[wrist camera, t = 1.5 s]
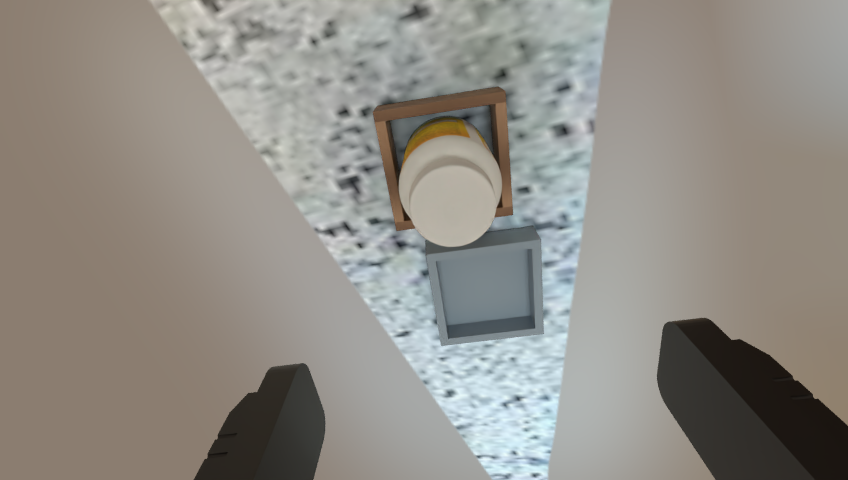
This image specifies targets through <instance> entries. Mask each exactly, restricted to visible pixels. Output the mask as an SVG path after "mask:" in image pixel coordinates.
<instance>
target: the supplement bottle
mask: <svg viewBox="0 0 848 480" xmlns="http://www.w3.org/2000/svg"><path fill="white" fill-rule="evenodd" d="M501 192H502V177H501V172H500V169H499V166H498V164H497V162H496V160H495V158H494V156H493V154H492V153H491V151H490V149H489V148H488V146H487V144H486V142H485V140H484V139H483V137H482V135H481V134H480V132H479V131H478V130H477V129H476V128H475V127H474V126H473V125H472V124H470V123H469V122H467V121H465V120H463V119H460V118H457V117H452V116H444V117H438V118H434V119H431V120H429V121H427V122H425V123H423V124H422V125H421V126H419V127H418V128H417V129H416V130H415V131H414V133H413V134H412V136H411V137H410V139H409V141H408V144H407V146H406V150H405V154H404V159H403V164H402V168H401V173H400V178H399V195H400V200H401V203H402V205H403V208H404V210H405V211H406V213H407V215H408V216H409V217H410V218H411V220H412V223H413V225H414V226H415V228H416V229H417V231H418V232H419V233H420V234H421V235H422V236H423V237H424V238H425V239H427V240H428V241H430V242H432V243H434V244H437V245H440V246H446V247H457V246H463V245H466V244H469V243H471V242H473V241H475V240H477V239H478V238H479V237H481V236H482V235H483V234H484V233H485V232H486V231H487V230H488V228H489V227H490V225H491V224H492V222H493V220H494V217H495V213H496V208H497V205H498V203H499V200H500V197H501Z"/></svg>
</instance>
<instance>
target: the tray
mask: <svg viewBox="0 0 848 480" xmlns="http://www.w3.org/2000/svg"><path fill="white" fill-rule="evenodd" d="M426 259H427V265H428V271H429V277H430V283H431V289H432V295H433V300H434V306H435V312H436V318H437V324H438V330H439V336H440V342H441V346H444V345H453V344H461V343H470V342H478V341H487V340H496V339H504V338H513V337H521V336H530V335H538V334H544V327H543V293H542V260H541V239H540V237H539V235H538V234H537V232H536V230H535V229H534V227H533V226H531V227H523V228H516V229H509V230H501V231H494V232H486V233H484V234H483V235H482V236H481V237H479V238H478V239H477V240H475V241H473V242H471V243H469V244H466V245H463V246H457V247H446V246H440V245H437V244H434V243H432V242H430V241H428V240H427V241H426Z"/></svg>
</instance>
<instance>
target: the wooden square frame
mask: <svg viewBox="0 0 848 480" xmlns="http://www.w3.org/2000/svg"><path fill="white" fill-rule="evenodd" d="M484 105H490V114H491V126H492V139H493V152H494V158H495V160H496V162H497V164H498V166H499V169H500V172H501V177H502V192H501V197H500V200H499V203H498V205H497V208H496V213H495V217H501V216H508V215H513V207H512V191H511V175H510V158H509V142H508V126H507V109H506V93H505V90H503V89H501V88H500V87H493V88H487V89H480V90H474V91H468V92H462V93H455V94H449V95H443V96H436V97H430V98H424V99H418V100H411V101H405V102H399V103H393V104H386V105H380V106H377V107H376V109H375V110H374V111H373V115H374V120H375V125H376V130H377V135H378V140H379V145H380V150H381V155H382V160H383V165H384V170H385V175H386V180H387V185H388V190H389V195H390V200H391V205H392V210H393V215H394V220H395V225H396V230H397V231H399V230H407V229H414V228H415V226H414V225H413V223H412V220H411V218H410V217H409V216H408V215H407V213H406V211H405V210H404V208H403V205H402V203H401V200H400V195H399V178H400V173H399V168H398V162H397V157H396V151H395V146H394V141H393V135H392V130H391V124H390V120H395V119H401V118H408V117H414V116H420V115H427V114H433V113H439V112H446V111H452V110H459V109H465V108H471V107H478V106H484Z"/></svg>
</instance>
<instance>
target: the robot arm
mask: <svg viewBox="0 0 848 480" xmlns="http://www.w3.org/2000/svg"><path fill="white" fill-rule="evenodd" d="M657 381H658V387H659V390H660V393H661V396H662V398H663V401H664V402H665V404H666V406H667V407H668V409H669V410H670V412H671V413H672V415H673V416H674V418H675V419H676V421H677V422H678V424H679V425H680V427H681V428H682V430H683V431H684V433H685V434H686V436H687V437H688V439H689V440H690V442H691V443H692V445H693V446H694V448H695V449H696V451H697V452H698V454H699V455H700V457H701V458H702V460H703V461H704V463H705V464H706V466H707V467H708V469H709V470H710V472H711V473H712V475H713V476H714V478H715V479H716V480H848V426H847V425H846V424H845V423H844V422H843V421H842V420H841V419H840V418H839V417H837V416H836V415H835V414H834V413H833V412H832V411H831V410H830V409H829V408H828V407H826V406H825V405H824V404H823V403H822V402H821V401H820V400H819V399H814V398H813V394H812V393H811V392H810V391H808V389H806V388H805V387H804V386H803V385H802V384H801V383H800V382H799V381H795V380H794V379H793V376H792V375H791V374H790V373H789V372H788V371H787V370H785V369H784V368H783V367H782V366H781V365H780V364H779V363H778V362H777V361H775V360H774V359H773V358H772V357H771V356H770V355H768V354H766V353H764V352H763V351H761V350H759V349H757V348H755V347H753V346H752V345H750V344H748V343H746V342H744V341H742V340H740V339H738V340H731V339H730V338H729V337H728V336H727V335H726V334H725V333H724V332H723V331H722V330H721V329H719V327H718V326H716V325H715V324H714V323H713V322H712V321H711V320H709V319H707V318H698V319H690V320H681V321H672V322H667V323H666V324H665V325H664V327H663V332H662V340H661V348H660V357H659V364H658V372H657ZM324 434H325V414H324V410H323V407H322V404H321V401H320V398H319V396H318V393H317V390H316V387H315V385H314V382H313V379H312V376H311V374H310V371H309V368H308V367H307V365H306V364H304V363H301V364H293V365H284V366H276V367H271V368H270V369H269V370H268V371H267V373H266V375H265V378H264V379H263V381H262V383H261V385H260V387H259V389H258V392H254V393H248V394H247V395H246V396H245V397H244V398H243V399H242V400H241V402H239V404H238V405H237V406H236V407H235V408H234V409H233V410H232V411H231V412H230V413H229V415H228V417H227V419H226V421H225V423H224V424H223V426H222V428H221V430H220V432H219V434H218V439H217V440H215V441H214V443H213V445H212V447H211V448H210V450H209V452H208V458H207V459H205V460H204V462H203V464H202V465H201V467H200V469H199V471H198V473H197V475H196V477H195V479H194V480H313V479H314V475H315V471H316V467H317V463H318V459H319V456H320V452H321V448H322V444H323V440H324Z"/></svg>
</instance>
